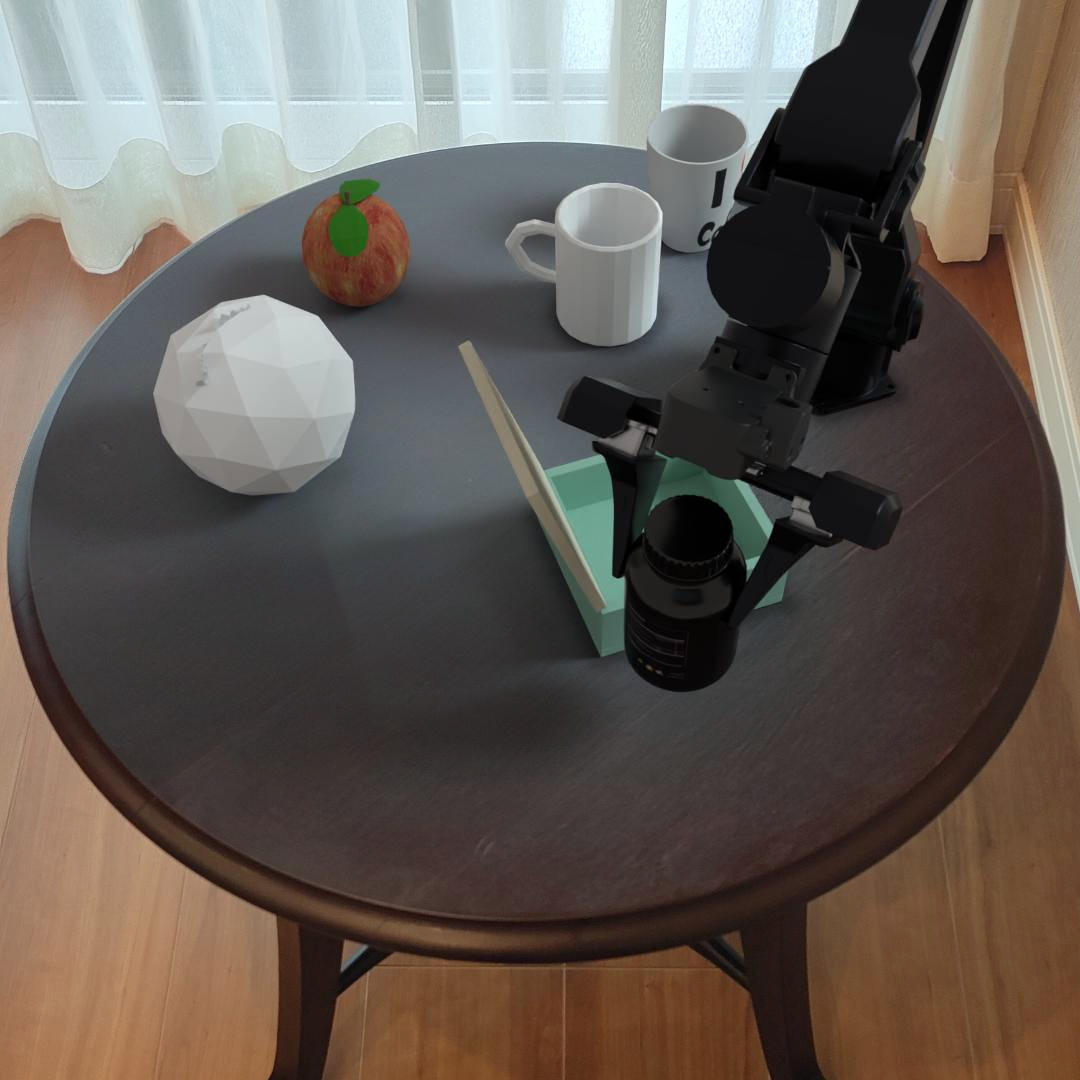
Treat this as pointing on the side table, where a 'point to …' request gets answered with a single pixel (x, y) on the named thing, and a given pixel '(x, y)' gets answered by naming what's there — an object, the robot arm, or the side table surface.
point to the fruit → (356, 245)
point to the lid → (531, 476)
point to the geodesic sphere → (256, 396)
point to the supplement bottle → (683, 594)
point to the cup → (694, 171)
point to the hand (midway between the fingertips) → (672, 602)
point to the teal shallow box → (591, 522)
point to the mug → (601, 262)
